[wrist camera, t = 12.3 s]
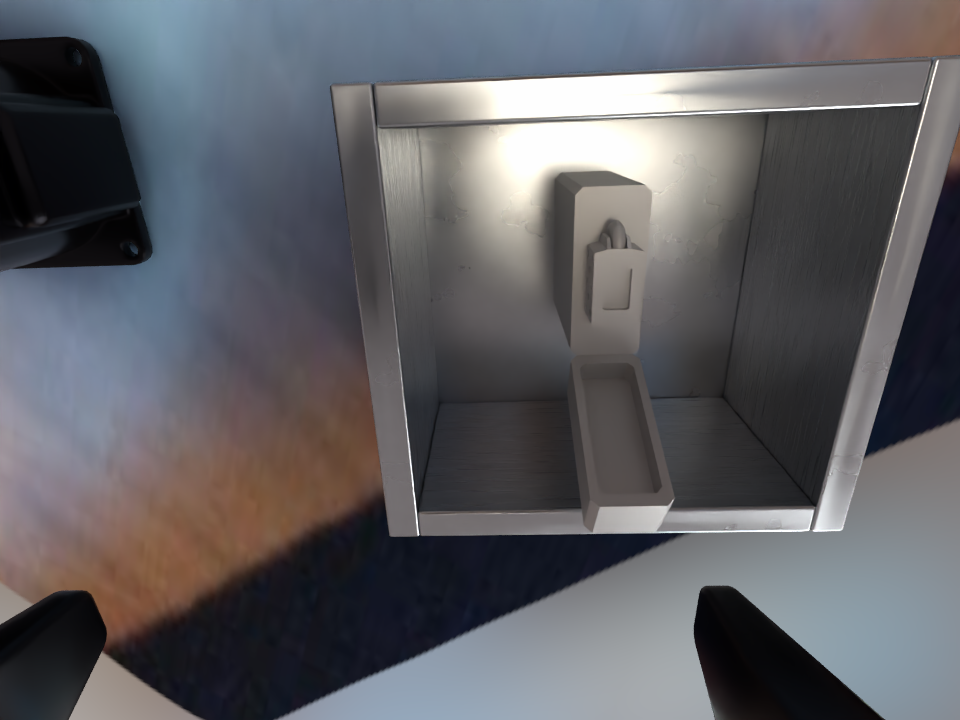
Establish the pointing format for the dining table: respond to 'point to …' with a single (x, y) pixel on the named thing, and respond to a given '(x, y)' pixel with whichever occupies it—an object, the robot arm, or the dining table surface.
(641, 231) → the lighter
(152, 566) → the dining table surface
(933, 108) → the metal box
